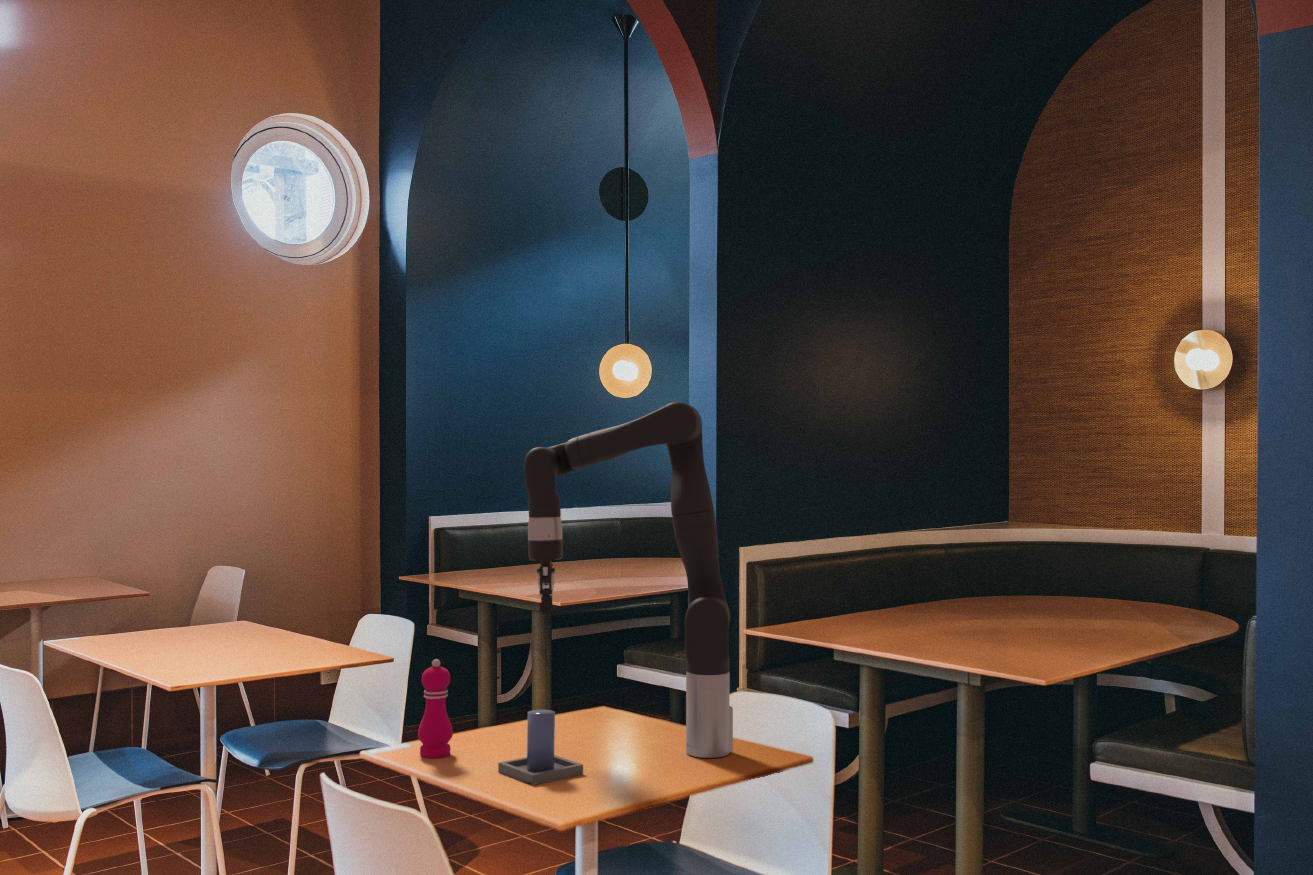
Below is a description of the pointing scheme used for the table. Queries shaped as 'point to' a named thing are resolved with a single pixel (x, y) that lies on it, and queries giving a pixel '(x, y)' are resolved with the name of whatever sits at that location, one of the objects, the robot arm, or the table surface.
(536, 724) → the blue-grey cylinder
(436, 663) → the pepper mill
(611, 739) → the table surface
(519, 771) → the tray
